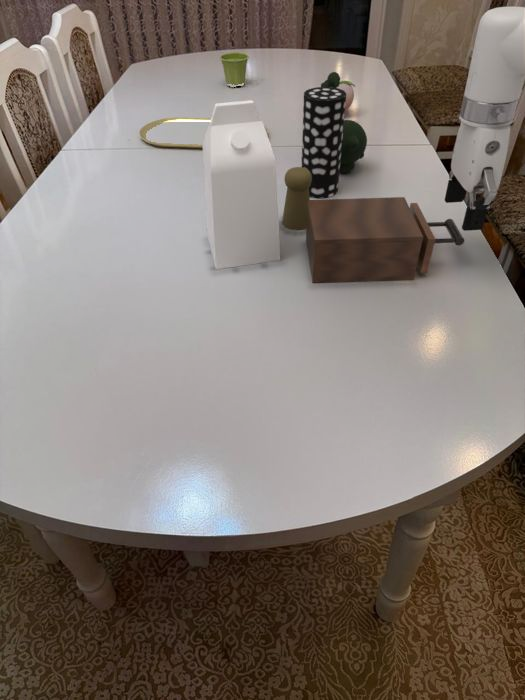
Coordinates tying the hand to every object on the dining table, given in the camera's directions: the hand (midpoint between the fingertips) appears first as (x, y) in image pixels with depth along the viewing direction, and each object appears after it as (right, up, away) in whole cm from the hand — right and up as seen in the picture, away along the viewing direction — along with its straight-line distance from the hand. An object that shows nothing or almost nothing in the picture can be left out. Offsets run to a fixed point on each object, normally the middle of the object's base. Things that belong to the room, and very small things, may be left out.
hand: (462, 214), depth 85 cm
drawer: (-11, -6, +6) cm, 13 cm away
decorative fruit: (-12, +45, +60) cm, 76 cm away
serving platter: (-50, +35, +50) cm, 79 cm away
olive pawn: (-27, +3, +16) cm, 32 cm away
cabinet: (-17, -6, +6) cm, 19 cm away
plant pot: (-43, +66, +82) cm, 113 cm away
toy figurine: (-16, +23, +37) cm, 47 cm away
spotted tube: (-21, +13, +26) cm, 36 cm away
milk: (-38, -4, +10) cm, 39 cm away
